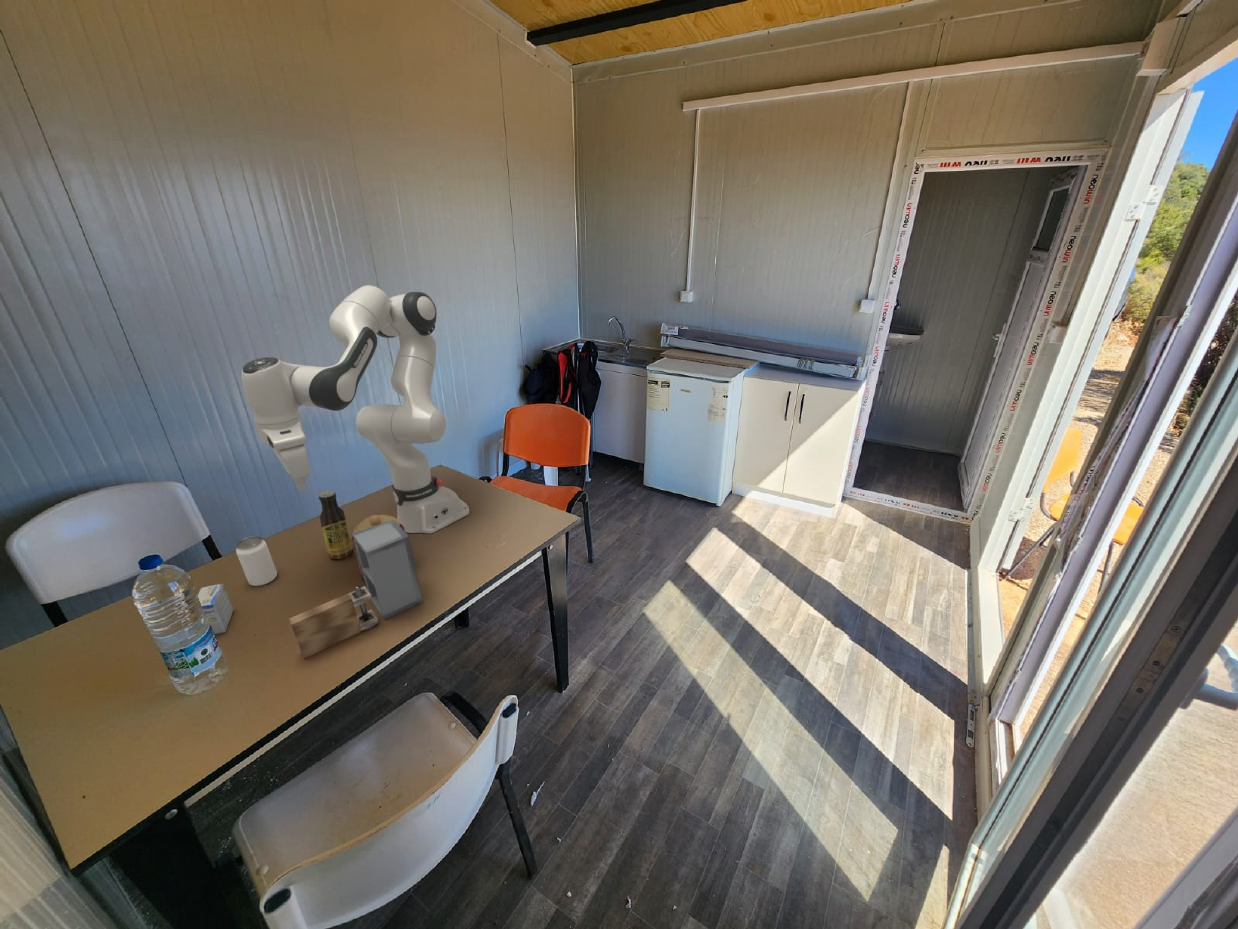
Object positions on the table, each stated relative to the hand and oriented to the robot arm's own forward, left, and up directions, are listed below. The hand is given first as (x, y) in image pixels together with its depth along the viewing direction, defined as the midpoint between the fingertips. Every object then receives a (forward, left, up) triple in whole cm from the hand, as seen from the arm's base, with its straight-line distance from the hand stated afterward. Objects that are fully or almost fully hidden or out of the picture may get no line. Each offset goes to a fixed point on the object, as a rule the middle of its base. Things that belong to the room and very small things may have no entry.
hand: (297, 481), depth 120 cm
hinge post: (-2, +26, -29) cm, 39 cm away
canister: (-13, +8, -29) cm, 33 cm away
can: (+13, -10, -29) cm, 34 cm away
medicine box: (+24, +2, -29) cm, 38 cm away
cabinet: (-10, +22, -29) cm, 38 cm away
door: (+4, +26, -29) cm, 39 cm away
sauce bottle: (-6, -8, -29) cm, 31 cm away
